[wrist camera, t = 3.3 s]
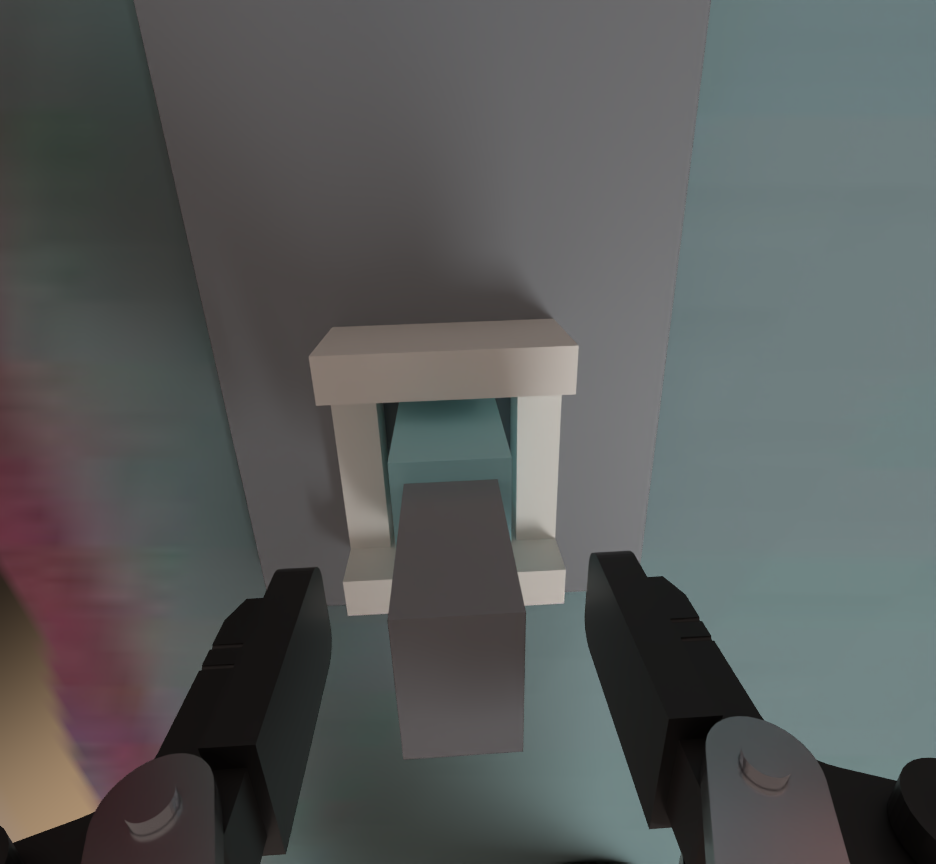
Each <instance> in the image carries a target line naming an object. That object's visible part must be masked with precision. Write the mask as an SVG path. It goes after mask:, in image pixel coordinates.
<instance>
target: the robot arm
mask: <svg viewBox="0 0 936 864" xmlns="http://www.w3.org/2000/svg"><path fill="white" fill-rule="evenodd" d="M585 631H586V637H587V643H588V647H589V650H590V653H591V656H592V659H593V662H594V665H595V668H596V671H597V674H598V677H599V680H600V683H601V686H602V689H603V692H604V695H605V698H606V701H607V704H608V707H609V710H610V713H611V716H612V719H613V722H614V725H615V728H616V731H617V734H618V737H619V740H620V743H621V746H622V749H623V752H624V755H625V758H626V761H627V764H628V767H629V770H630V773H631V776H632V779H633V782H634V785H635V788H636V791H637V794H638V797H639V800H640V803H641V806H642V809H643V812H644V815H645V818H646V821H647V824H648V827H649V829H657V828H670V827H672V829H673V832H674V834H675V837H676V840H677V842H678V845H679V848H680V851H681V855H680V860H679V864H936V758H920V759H916V760H913V761H911V762H909V763H907V764H906V766H905V767H904V768H903V769H902V771H901V774H900V776H899V778H898V780H897V781H895V780H891V779H886V778H882V777H878V776H873V775H869V774H865V773H861V772H856V771H852V770H848V769H844V768H839V767H836V766H832V765H829V764H825V763H823V762H820V761H818V760H816V759H815V757H814V756H813V755H812V753H811V752H810V751H809V750H808V749H807V748H806V747H805V746H804V745H803V744H802V743H801V742H800V741H799V740H797V739H796V738H795V737H794V736H792V735H791V734H789V733H788V732H787V731H785V730H783V729H782V728H780V727H778V726H776V725H774V724H772V723H769V722H767V721H764V719H763V718H762V717H761V715H760V714H759V712H758V710H757V709H756V707H755V706H754V704H753V702H752V701H751V699H750V698H749V696H748V694H747V693H746V691H745V690H744V688H743V686H742V685H741V683H740V682H739V680H738V678H737V677H736V675H735V673H734V672H733V670H732V669H731V667H730V665H729V664H728V662H727V661H726V659H725V657H724V656H723V654H722V653H721V651H720V649H719V648H718V646H717V645H716V643H715V641H712V640H711V635H710V633H709V632H708V630H707V628H706V627H705V625H704V624H703V622H702V621H700V620H699V616H698V614H697V612H696V611H695V609H694V608H693V606H692V604H691V603H690V601H689V600H688V598H687V596H686V595H685V594H684V593H683V592H682V591H680V590H679V589H678V588H677V587H675V586H674V585H673V584H672V583H670V582H669V581H668V580H667V579H665V578H664V577H663V576H659V577H647V576H646V574H645V572H644V571H643V569H642V567H641V565H640V563H639V561H638V560H637V558H636V556H635V554H634V553H633V552H632V551H613V552H595V553H591V555H590V558H589V566H588V579H587V592H586V605H585ZM212 646H213V647H212V650H209V652H208V654H207V656H206V658H205V660H204V662H203V664H202V670H201V671H199V672H198V674H197V676H196V678H195V680H194V682H193V684H192V686H191V688H190V690H189V692H188V694H187V696H186V698H185V700H184V702H183V704H182V706H181V708H180V710H179V712H178V714H177V716H176V718H175V720H174V722H173V724H172V726H171V728H170V730H169V732H168V734H167V736H166V738H165V740H164V742H163V744H162V746H161V748H160V750H159V752H158V754H157V755H156V757H155V759H154V760H151V761H149V762H147V763H145V764H143V765H141V766H140V767H138V768H136V769H135V770H133V771H132V772H131V773H129V774H128V775H126V776H125V777H124V778H123V779H122V780H120V781H119V782H118V783H117V784H116V785H115V786H114V787H113V788H112V789H111V790H110V791H109V792H108V794H107V795H106V796H105V797H104V799H103V800H102V801H101V803H100V804H99V806H98V807H97V809H96V811H95V812H93V813H91V814H89V815H87V816H84V817H82V818H80V819H77V820H74V821H71V822H69V823H66V824H63V825H60V826H58V827H55V828H52V829H50V830H47V831H44V832H41V833H39V834H36V835H33V836H31V837H28V838H25V839H22V840H20V841H17V842H14V843H12V841H11V840H10V838H9V836H8V835H7V833H6V831H5V830H4V828H2V827H1V826H0V864H260V862H261V858H262V856H267V855H280V854H286V851H287V847H288V842H289V838H290V834H291V829H292V825H293V821H294V816H295V812H296V808H297V803H298V799H299V795H300V790H301V786H302V782H303V777H304V773H305V769H306V764H307V760H308V756H309V751H310V747H311V743H312V738H313V734H314V730H315V725H316V721H317V717H318V713H319V708H320V704H321V700H322V695H323V691H324V687H325V682H326V678H327V674H328V669H329V665H330V659H331V648H332V636H331V626H330V620H329V615H328V609H327V603H326V597H325V591H324V585H323V579H322V574H321V571H320V569H319V568H318V567H306V568H288V569H277V570H276V571H275V573H274V575H273V577H272V579H271V581H270V584H269V586H268V588H267V591H266V593H265V595H264V597H263V598H255V599H246V600H245V601H244V602H243V603H242V604H241V605H240V606H239V607H238V608H237V609H236V610H235V611H234V612H233V613H232V614H231V615H230V616H229V617H228V618H227V619H225V621H224V623H223V625H222V627H221V629H220V631H219V633H218V635H217V637H216V639H215V640H214V642H213V644H212Z"/></svg>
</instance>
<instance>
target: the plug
mask: <svg viewBox="0 0 936 864" xmlns="http://www.w3.org/2000/svg"><path fill="white" fill-rule="evenodd" d="M387 464H388V474H389V484H390V495H391V505H392V515H393V525H394V535H395V545H396V553H395V561H394V570H393V578H392V587H391V595H390V603H389V612H388V629H389V638H390V646H391V655H392V664H393V673H394V682H395V690H396V699H397V708H398V717H399V725H400V734H401V743H402V752H403V760H405V759H420V758H434V757H449V756H464V755H479V754H493V753H508V752H523V727H524V679H525V630H526V610H525V606H524V601H523V596H522V592H521V587H520V582H519V577H518V573H517V568H516V563H515V558H514V554H513V549H512V544H511V510H512V456H511V453H510V449H509V446H508V442H507V439H506V435H505V432H504V428H503V425H502V421H501V418H500V414H499V411H498V407H497V403H496V400H495V398H483V399H460V400H437V401H414V402H399V405H398V410H397V415H396V421H395V426H394V431H393V437H392V442H391V447H390V452H389V458H388V463H387Z"/></svg>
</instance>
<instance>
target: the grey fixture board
mask: <svg viewBox="0 0 936 864" xmlns="http://www.w3.org/2000/svg"><path fill="white" fill-rule="evenodd" d="M134 4H135V9H136V13H137V18H138V22H139V27H140V31H141V35H142V40H143V44H144V49H145V53H146V58H147V62H148V67H149V71H150V75H151V80H152V84H153V89H154V93H155V98H156V102H157V106H158V111H159V115H160V120H161V124H162V129H163V133H164V138H165V142H166V146H167V151H168V155H169V160H170V164H171V169H172V173H173V177H174V182H175V186H176V191H177V195H178V200H179V204H180V208H181V213H182V217H183V222H184V226H185V231H186V235H187V240H188V244H189V248H190V253H191V257H192V262H193V266H194V271H195V275H196V279H197V284H198V288H199V293H200V297H201V302H202V306H203V311H204V315H205V319H206V324H207V328H208V333H209V337H210V342H211V346H212V350H213V355H214V359H215V364H216V368H217V373H218V377H219V382H220V386H221V390H222V395H223V399H224V404H225V408H226V413H227V417H228V421H229V426H230V430H231V435H232V439H233V444H234V448H235V453H236V457H237V461H238V466H239V470H240V475H241V479H242V484H243V488H244V492H245V497H246V501H247V506H248V510H249V515H250V519H251V524H252V528H253V532H254V537H255V541H256V546H257V550H258V555H259V559H260V563H261V568H262V572H263V577H264V581H265V586H266V590H267V588H268V586H269V584H270V581H271V579H272V577H273V575H274V573H275V571H276V570H277V569H288V568H306V567H318V568H319V569H320V571H321V574H322V579H323V585H324V591H325V597H326V603H327V606H332V605H346V606H347V613H348V616H355V615H372V614H388V612H389V603H390V595H391V587H392V578H393V570H394V561H395V553H396V545H395V535H394V525H393V515H392V505H391V495H390V484H389V474H388V464H387V463H388V458H389V452H390V447H391V442H392V437H393V431H394V426H395V421H396V415H397V410H398V405H399V402H414V401H437V400H460V399H483V398H495V400H496V403H497V407H498V411H499V414H500V418H501V421H502V425H503V428H504V432H505V435H506V439H507V442H508V446H509V449H510V453H511V456H512V510H511V544H512V549H513V554H514V558H515V563H516V568H517V573H518V577H519V582H520V587H521V592H522V596H523V601H524V606H527V605H545V604H562V603H564V595H565V592H577V591H587V579H588V566H589V558H590V555H591V553H595V552H613V551H632V552H633V553H634V554H635V556H636V558H637V560H638V561H639V563H640V562H641V554H642V546H643V538H644V530H645V522H646V514H647V506H648V498H649V490H650V482H651V474H652V466H653V458H654V450H655V442H656V435H657V427H658V419H659V411H660V403H661V395H662V387H663V379H664V371H665V363H666V355H667V347H668V339H669V331H670V323H671V315H672V307H673V299H674V291H675V283H676V275H677V267H678V259H679V251H680V243H681V235H682V227H683V219H684V211H685V203H686V195H687V187H688V180H689V172H690V164H691V156H692V148H693V140H694V132H695V124H696V116H697V108H698V100H699V92H700V84H701V76H702V68H703V60H704V52H705V44H706V36H707V28H708V20H709V12H710V4H711V0H134Z"/></svg>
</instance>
